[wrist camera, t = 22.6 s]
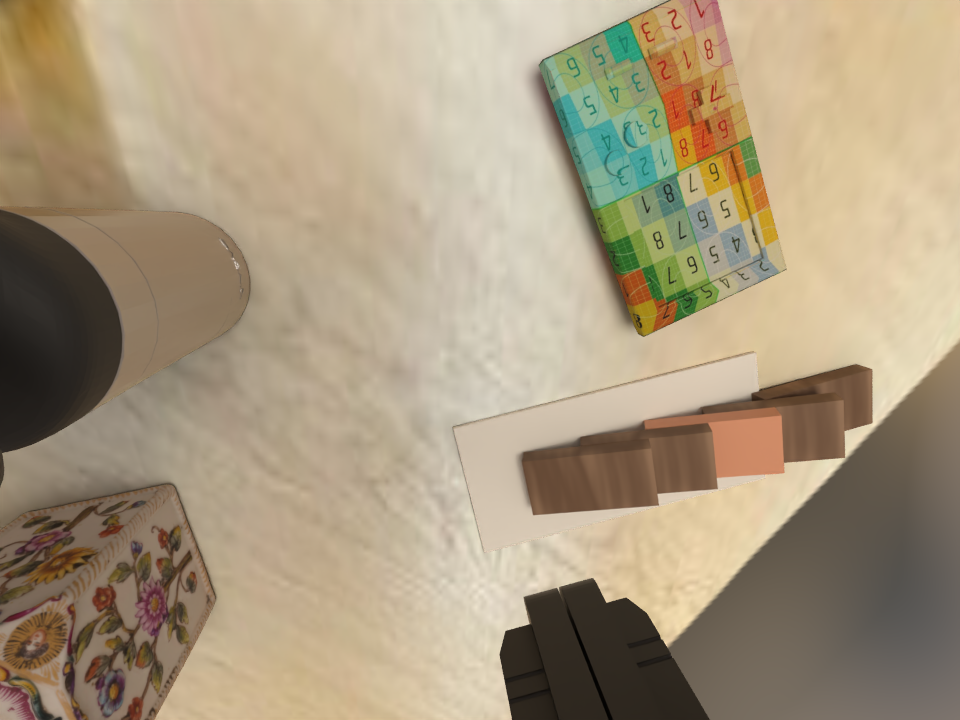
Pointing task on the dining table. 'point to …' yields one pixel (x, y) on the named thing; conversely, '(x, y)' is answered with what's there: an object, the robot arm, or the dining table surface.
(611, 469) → the domino
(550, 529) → the mat
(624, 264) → the puzzle game
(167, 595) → the decorative jar
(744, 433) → the domino
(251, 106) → the dining table surface
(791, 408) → the domino
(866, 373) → the domino
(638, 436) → the domino
